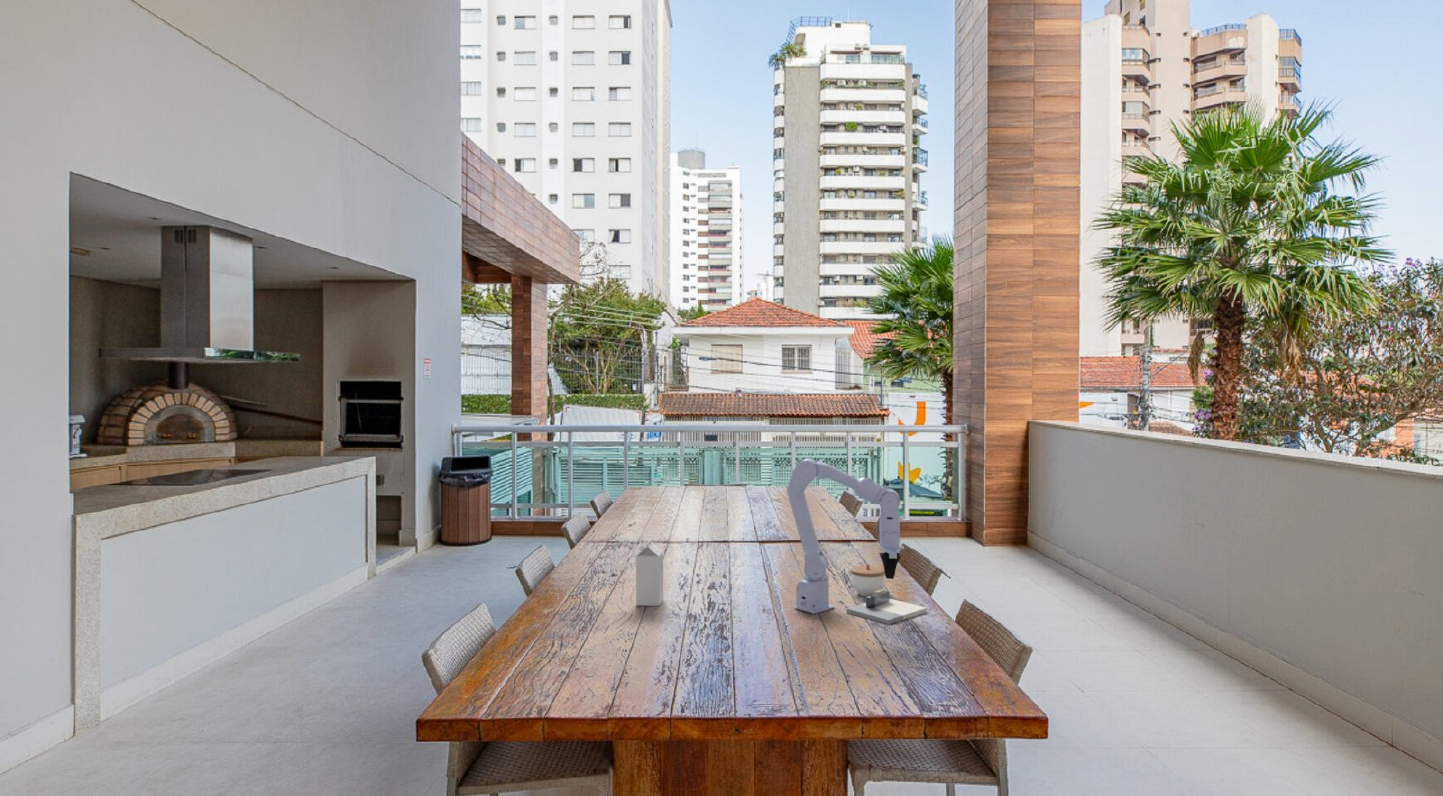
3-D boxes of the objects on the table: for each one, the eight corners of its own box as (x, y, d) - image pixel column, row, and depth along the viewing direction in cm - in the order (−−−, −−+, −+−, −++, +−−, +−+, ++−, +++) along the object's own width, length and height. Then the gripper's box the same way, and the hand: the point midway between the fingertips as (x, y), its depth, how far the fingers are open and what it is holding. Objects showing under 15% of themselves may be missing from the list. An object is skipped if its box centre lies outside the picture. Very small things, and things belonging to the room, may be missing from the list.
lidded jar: (888, 598, 236) (888, 568, 236) (853, 598, 236) (853, 568, 236) (881, 589, 247) (881, 560, 247) (848, 589, 247) (848, 560, 247)
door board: (888, 624, 210) (888, 609, 210) (846, 612, 221) (846, 598, 221) (927, 611, 221) (927, 598, 221) (885, 601, 233) (885, 588, 233)
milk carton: (663, 600, 235) (663, 538, 235) (659, 606, 228) (659, 543, 228) (640, 599, 236) (640, 538, 236) (635, 605, 229) (635, 542, 229)
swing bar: (872, 608, 220) (872, 598, 220) (863, 606, 222) (863, 596, 222) (890, 600, 228) (890, 591, 228) (882, 599, 230) (882, 589, 230)
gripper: (907, 536, 214) (907, 584, 214) (899, 527, 228) (899, 572, 228) (882, 535, 214) (882, 584, 214) (875, 526, 229) (875, 572, 229)
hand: (889, 578), depth 221 cm, fingers closed
